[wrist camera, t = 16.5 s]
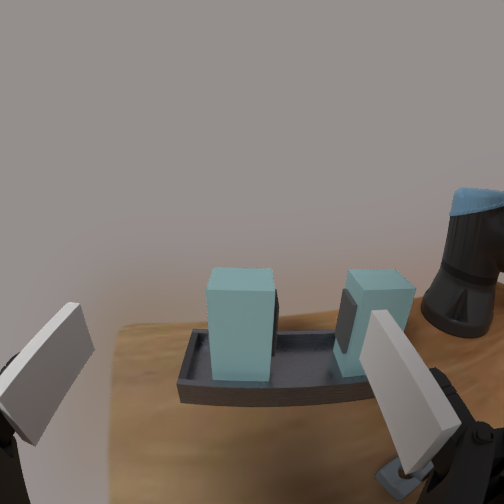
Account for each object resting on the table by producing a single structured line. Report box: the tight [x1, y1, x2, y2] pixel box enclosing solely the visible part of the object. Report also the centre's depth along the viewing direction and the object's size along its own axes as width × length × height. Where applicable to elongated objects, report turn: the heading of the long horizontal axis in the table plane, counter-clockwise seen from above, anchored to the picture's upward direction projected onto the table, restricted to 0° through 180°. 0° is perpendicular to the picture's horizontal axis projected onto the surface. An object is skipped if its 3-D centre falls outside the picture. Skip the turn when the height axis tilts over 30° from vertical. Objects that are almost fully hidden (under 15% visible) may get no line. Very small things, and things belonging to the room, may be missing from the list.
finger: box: [206, 268, 279, 381], centre depth 29 cm, size 6×5×11 cm
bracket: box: [374, 456, 434, 501], centre depth 17 cm, size 4×10×2 cm, turn 114°
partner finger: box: [333, 269, 416, 377], centre depth 29 cm, size 6×5×11 cm
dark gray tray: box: [177, 329, 376, 407], centre depth 31 cm, size 25×10×3 cm, turn 90°
